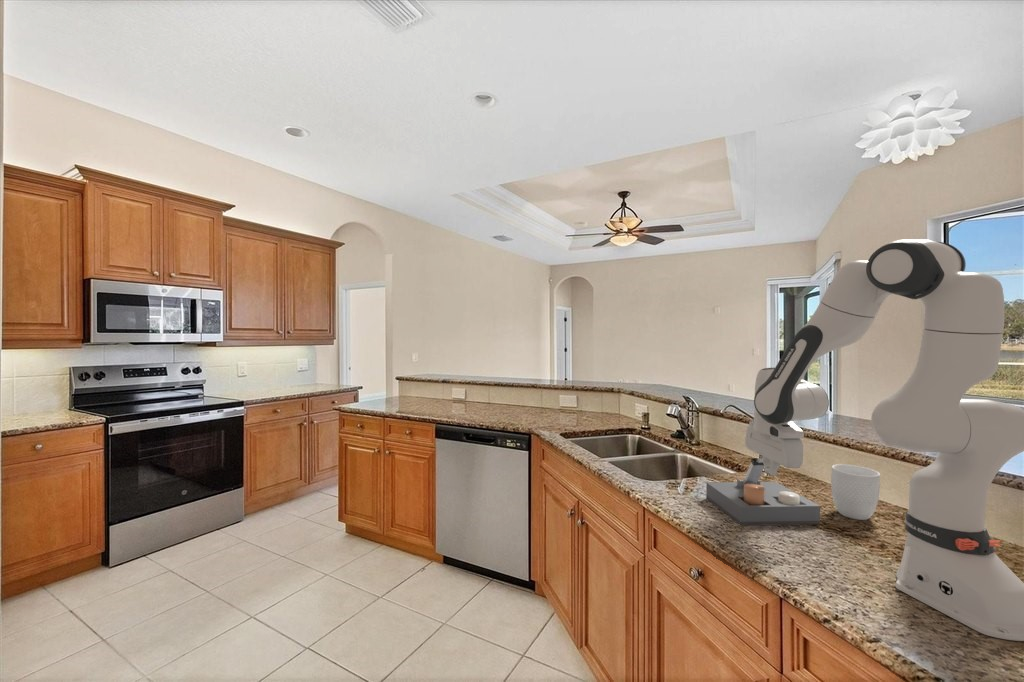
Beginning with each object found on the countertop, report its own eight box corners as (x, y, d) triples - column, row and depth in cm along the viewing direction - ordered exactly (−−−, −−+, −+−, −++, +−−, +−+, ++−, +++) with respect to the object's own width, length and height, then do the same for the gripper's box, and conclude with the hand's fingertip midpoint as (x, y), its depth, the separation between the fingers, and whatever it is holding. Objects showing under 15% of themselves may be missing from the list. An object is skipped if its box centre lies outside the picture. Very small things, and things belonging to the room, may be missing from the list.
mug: (840, 501, 137) (842, 459, 137) (886, 513, 129) (888, 468, 128) (824, 514, 128) (825, 468, 127) (873, 527, 119) (874, 479, 119)
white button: (803, 515, 122) (804, 497, 122) (785, 516, 122) (786, 498, 122) (791, 508, 127) (791, 491, 127) (774, 508, 127) (774, 491, 127)
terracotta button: (768, 508, 122) (768, 489, 121) (750, 508, 121) (750, 490, 121) (757, 500, 127) (757, 483, 126) (740, 501, 126) (740, 483, 126)
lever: (755, 487, 135) (767, 462, 129) (743, 488, 135) (754, 462, 129) (753, 483, 136) (765, 458, 130) (740, 483, 136) (751, 458, 130)
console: (819, 524, 121) (820, 498, 121) (740, 525, 120) (741, 499, 120) (775, 497, 140) (775, 475, 140) (706, 498, 139) (706, 476, 139)
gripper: (740, 417, 134) (738, 462, 135) (784, 433, 114) (783, 487, 114) (760, 417, 135) (759, 462, 135) (808, 433, 114) (807, 487, 115)
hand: (770, 474), depth 125 cm, fingers closed
